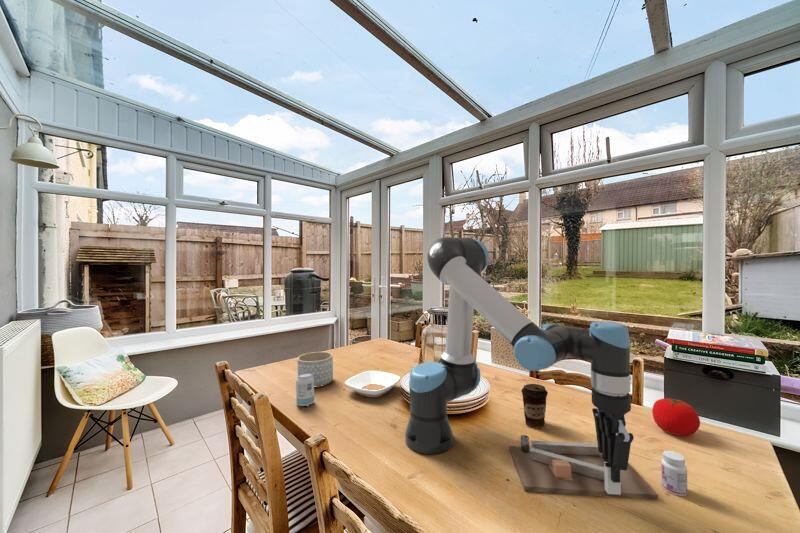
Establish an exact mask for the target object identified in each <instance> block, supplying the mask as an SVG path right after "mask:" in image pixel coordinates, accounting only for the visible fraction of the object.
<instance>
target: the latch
mask: <svg viewBox="0 0 800 533" xmlns="http://www.w3.org/2000/svg"><path fill="white" fill-rule="evenodd" d="M553 472H554V474H555V476H556V477H562V478H571V465H570V464H569V462H568V461H567V460H553Z"/></svg>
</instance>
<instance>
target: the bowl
mask: <svg viewBox="0 0 800 533" xmlns="http://www.w3.org/2000/svg"><path fill="white" fill-rule="evenodd" d="M401 378H402V377H401V376H399V375H397V374H395V373H390V372H386V371H381V370H367V371H363V372H360V373H358V374H356V375H354V376H352V377H349V378H348V379H347V380H345V382H344V384H345V385H346V386H347V387H348V388H349V389H351V390H352V391H354V392H355V393H358V394H357V395H359V394H360V396H362V395H363V396H362V397H365V396H367V398H371V397H377V398H379V396H380V397H382V396H383V394H384V395H386V394H387V393H388V392H389V391H391V389H392V388H394V386H395V385H396V384H397V383H398V382H399V381H400V380H401ZM369 384H377V385H382V386H385V388H383V389H379V390H368V389H362V387H364V386H367V385H369ZM385 393H386V394H385ZM381 395H382V396H381Z"/></svg>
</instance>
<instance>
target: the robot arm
mask: <svg viewBox="0 0 800 533" xmlns="http://www.w3.org/2000/svg"><path fill="white" fill-rule="evenodd" d="M426 256H427V263H428V264H427V265H428V267H429V269H430V271H431V272H432V273H433V275H434V276H435V277H436V278H437V279H438V280H439V281H440V282H441V283H443V284H445V285H446V284H447V285H449V288H448V290H449V291H448V304H447V306H448V308H447V322H446V335H445V336H446V337H445V338H446V339H445V350H444V351H443V352H441V354H440V362H437V361H429V362H422V363H419V364H417V365H415V366H414V367H412V369H410V372H409V381H408V386H409V413H410V414H409V419H408V423H407V426H406V428H405V429H406V430H405V434H404V435H405V437H404V438H405V444H406V446H407V447H408V448H409V449H410V450H412V451H414V452H415V453H416V452H417V453H418V454H419V453H420V454H424V455H437V454H442V453H445V452H446V451H448V450H450V449H451V448H452V447H453V444H454V433H453V430H452V427H451V423H450V421H449V418H448V403H449V402H452V401H454V400H457V399H459V398H461V397H464V396H467V395H469V394H471V393H472V392H474V391H475V390H476V389H477V388H478V386H479V385H480V382H481V370H480V368H479V367H478V366H479V365H478V363H477V362H476V357H475V356H474V355H473V354H472V344H473V343H472V341H473V327H474V315H475V314H474V313H475V311H476V312H477V313H478V314H479V315H481V317H482V318H483V319H485V321H486V322H488V323H489V324H490V326H491V327H493V328H494V330H496V331H497V332H498V333H499V334H500V336H502V337H503V338H504V339H505V340H506V341H507V342H508V343H509V344H511V346H512V347H513V354H514V357H515V359H516V362H517V363H518V364H519V365H520V366H521V368H523V369H525V370H527V371H530V372H531V371H532V372H536V371H542V370H546V369H548V368H549V367H552V366H553V365H554V364H556V363H559V362H560V361H561V362H562V361H563V360H565V359H568V358H573V359H578V360H584V361H589V362H590V386H591V387H592V388H591V403H592V405H593V406H594V407H595V408H592V413H593V414H592V415H593V419H594V424H595V434H596V441H597V443H596V444H598V450H599V452H600V453H602V458H603V460H604V461H605V462H604V479H605V490H606V492H607V493H608V494H617V495H621V480H620V470H627V467H628V463H629V460H630V454H631V447H632V446H631V444H632V442H633V440H634V438H635V436H634V434H633V433H631V432H628V431H627V429H626V425H627V422H626V418H625V415H626V414H628V413H629V412H631V409H632V397H631V396H632V395H631V394H630V392H631V380H632V377H631V358H630V357H631V343H630V333H629V328H628V326H626V324H623V323H620V322H615V321H603V320H602V321H601V320H600V321H599V320H598V321H592V322H591V323H590V325H589V326H590V327H589V328H583V327H582V328H581V327H576V326H569V325H567V326H566V325H561V324H557V323H553V324H550V323H544V324H542V325H541V326H540V327H539V326H538V325H537V324H536V323H535V322H534V321H532V320H531V319H530V318H529V317H528V316H526V315H525V313H523V312H522V311H520V309H518V308H517V307H516V306H515V305H514V304H513V303H512V302H510V301H509V300H508V299H507V298H506V297H504V295H502V294H501V293H500V292H499V291H498V290H496V289H495V288H494V287H493V286H492V285H491V284H490V283H489V282H488V281H486V280H485V279H484V278H483V277H482V272H483V271H485V269H486V268H488V265H489V262H490V254H489V250H488V248H487V247H486V245H485V244H484V243H483V242H482V241H481V240H478V239H476V238H472V237H471V238H470V237H452V236H444V237H440V238H437V239H436V240H434V242H432V244H431V245H430V247H429V248H428V251H427V255H426ZM474 310H475V311H474Z"/></svg>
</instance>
